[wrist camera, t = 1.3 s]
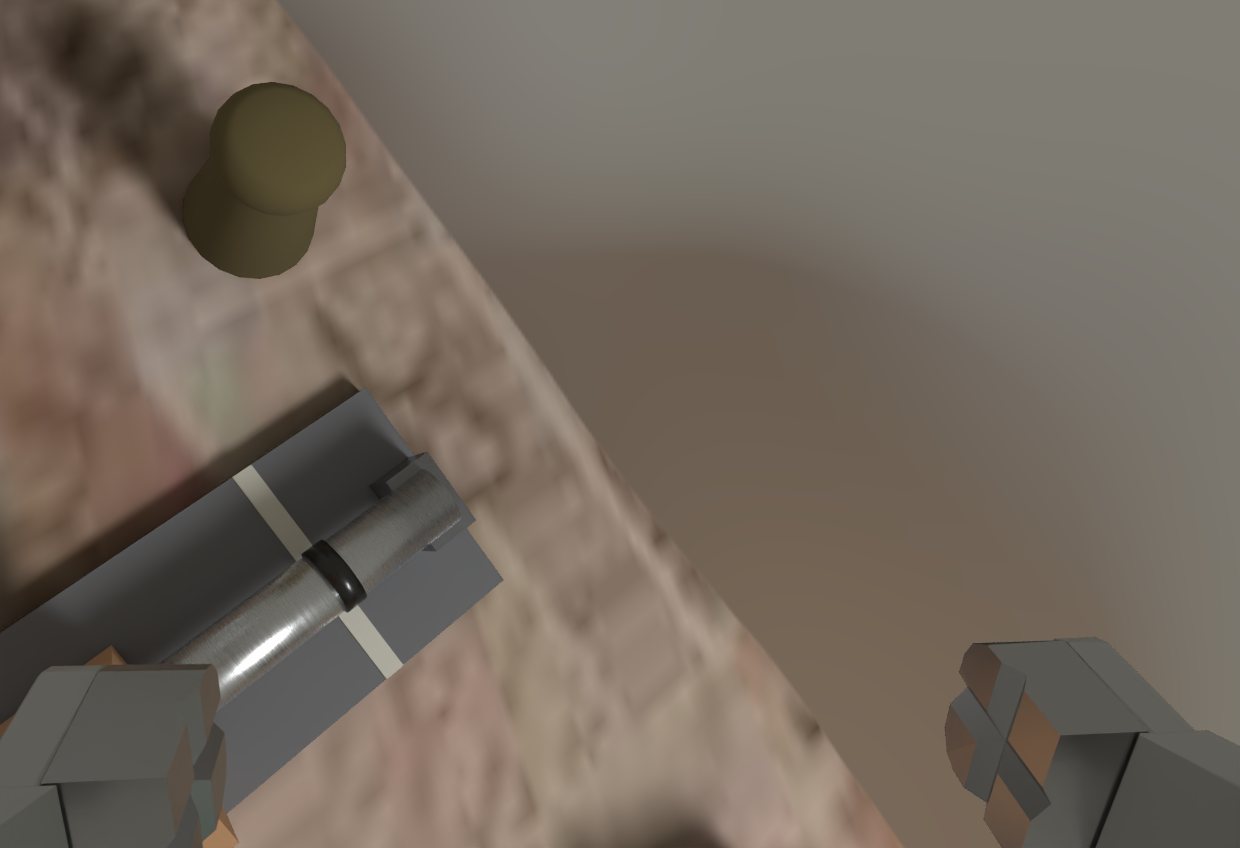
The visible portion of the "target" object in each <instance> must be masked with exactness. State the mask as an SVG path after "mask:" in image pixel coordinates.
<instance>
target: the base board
mask: <svg viewBox="0 0 1240 848" xmlns="http://www.w3.org/2000/svg"><path fill="white" fill-rule="evenodd" d="M411 456H414V455H413V453H412V452H411V450H410V449H409V448H408V446H407V445H406V443H405V442H404V441H403V439H402V438H401V436H400V435H399V434H398V432H397V431H396V429H395V428H394V427H393V425H392V424H391V422H390V421H389V420H388V418H387V417H386V415H385V414H384V413H383V411H382V410H381V409H380V407H379V406H378V404H377V403H376V402H375V400H374V399H373V397H372V396H371V395H370V393H369V392H368V390H367V389H366V388H364V389H362V390H361V391H359V392H358V393H356V394H355V395H353V396H352V397H350V398H349V399H347V400H346V401H344V402H343V403H341V404H340V405H338V406H337V407H335V408H334V409H332V410H331V411H329V412H328V413H326V414H325V415H324V416H322V417H321V418H319V419H318V420H316V421H315V422H313V423H312V424H310V425H309V426H307V427H306V428H304V429H303V430H301V431H300V432H298V433H297V434H295V435H294V436H292V437H291V438H289V439H288V440H286V441H285V442H283V443H282V444H280V445H279V446H277V447H276V448H274V449H273V450H271V451H270V452H268V453H267V454H265V455H264V456H263V457H261V458H260V459H258V460H257V461H255V462H254V463H252V464H251V465H249V466H248V467H246V468H245V469H243V470H242V471H240V472H239V473H237V474H236V475H234V476H233V477H231V478H230V479H228V480H227V481H225V482H224V483H222V484H221V485H219V486H218V487H216V488H215V489H213V490H212V491H210V492H209V493H207V494H206V495H204V496H203V497H201V498H200V499H199V500H197V501H196V502H194V503H193V504H191V505H190V506H188V507H187V508H185V509H184V510H182V511H181V512H179V513H178V514H176V515H175V516H173V517H172V518H170V519H169V520H167V521H166V522H164V523H163V524H161V525H160V526H158V527H157V528H155V529H154V530H152V531H151V532H149V533H148V534H146V535H145V536H143V537H142V538H140V539H139V540H138V541H136V542H135V543H133V544H132V545H130V546H129V547H127V548H126V549H124V550H123V551H121V552H120V553H118V554H117V555H115V556H114V557H112V558H111V559H109V560H108V561H106V562H105V563H103V564H102V565H100V566H99V567H97V568H96V569H94V570H93V571H91V572H90V573H88V574H87V575H85V576H84V577H82V578H81V579H79V580H78V581H77V582H75V583H74V584H72V585H71V586H69V587H68V588H66V589H65V590H63V591H62V592H60V593H59V594H57V595H56V596H54V597H53V598H51V599H50V600H48V601H47V602H45V603H44V604H42V605H41V606H39V607H38V608H36V609H35V610H33V611H32V612H30V613H29V614H27V615H26V616H24V617H23V618H21V619H20V620H18V621H17V622H15V623H14V624H13V625H11V626H10V627H8V628H7V629H5V630H4V631H2V632H1V633H0V725H1V724H2V723H3V722H5V721H6V720H8V719H9V718H10V717H12V716H13V715H15V713H16V712H17V710H18V708H19V707H20V705H21V703H22V702H23V700H24V699H25V697H26V695H27V694H28V692H29V690H30V689H31V687H32V685H33V684H34V682H35V680H36V679H37V677H38V676H39V675H40V674H41V673H42V672H43V671H45V670H46V669H48V668H50V667H51V666H83V665H85V664H86V663H87V662H89V661H90V660H91V659H93V658H94V657H96V656H97V655H98V654H100V653H101V652H103V651H104V650H105V649H107V648H108V647H110V646H111V645H112V646H113V647H114V649H115V650H116V651H117V652H118V654H119V655H120V656H121V657H122V658H123V660H124V661H125V662H126V663H127V664H128V665H142V664H159V663H160V662H162V661H163V660H164V659H166V658H167V657H168V656H170V655H171V654H173V653H174V652H175V651H177V650H178V649H179V648H181V647H182V646H183V645H185V644H186V643H187V642H189V641H190V640H191V639H193V638H194V637H195V636H197V635H198V634H200V633H201V632H202V631H204V630H205V629H206V628H208V627H209V626H210V625H212V624H213V623H214V622H216V621H217V620H218V619H220V618H221V617H222V616H224V615H225V614H227V613H228V612H229V611H231V610H232V609H233V608H235V607H236V606H237V605H239V604H240V603H241V602H243V601H244V600H245V599H247V598H248V597H249V596H251V595H252V594H254V593H255V592H256V591H258V590H259V589H260V588H262V587H263V586H264V585H266V584H267V583H268V582H270V581H271V580H272V579H274V578H275V577H276V576H278V575H279V574H281V573H282V572H283V571H285V570H286V569H287V568H289V567H290V566H291V565H293V564H294V563H295V562H297V561H298V560H299V559H301V558H302V556H301V554H302V553H303V552H304V551H306V550H307V549H309V548H310V547H311V546H313V545H314V544H315V543H317V542H318V541H319V540H321V539H322V540H324V541H325V540H326V539H328V538H329V537H330V536H332V535H333V534H335V533H336V532H337V531H339V530H340V529H341V528H343V527H344V526H345V525H347V524H348V523H349V522H351V521H352V520H353V519H355V518H356V517H357V516H359V515H360V514H362V513H363V512H364V511H366V510H367V509H368V508H370V507H371V506H372V505H374V504H375V503H376V502H378V501H379V499H378V497H377V496H376V495H375V493H374V492H373V491H372V489H371V488H370V486H369V485H371V484H372V483H373V482H375V481H376V480H378V479H379V478H380V477H382V476H383V475H384V474H386V473H387V472H389V471H390V470H391V469H393V468H394V467H395V466H397V465H398V464H400V463H401V462H402V461H404V460H405V459H406V458H408V457H411ZM502 581H503V579H502V577H501V576H500V574H499V573H498V572H497V570H496V569H495V567H494V566H493V565H492V563H491V562H490V560H489V559H488V558H487V556H486V555H485V553H484V552H483V551H482V549H481V548H480V546H479V545H478V544H477V542H476V541H475V540H474V538H473V537H472V535H471V534H470V533H469V531H468V530H467V528H466V529H464V530H463V531H462V532H461V533H459V534H458V535H457V536H455V537H454V538H453V539H452V540H450V541H449V542H448V543H447V544H445V545H444V546H443V547H442V548H440V549H439V550H438V551H420V552H419V553H418V554H417V555H415V556H414V557H413V558H411V559H410V560H409V561H408V562H406V563H405V564H404V565H403V566H401V567H400V568H399V569H397V570H396V571H395V572H394V573H392V574H391V575H390V576H389V577H387V578H386V579H385V580H383V581H382V582H381V583H380V584H378V585H377V586H376V587H375V588H373V589H372V590H371V591H370V592H368V593H367V598H366V599H365V600H364V601H362V602H361V603H360V604H358V605H357V606H356V607H355V608H353V609H352V610H351V611H350V612H348V613H347V612H345V611H344V612H343V613H342V614H340V615H339V616H338V617H337V618H335V619H334V620H333V621H331V622H330V623H329V624H328V625H326V626H325V627H324V628H323V629H321V630H320V631H319V632H317V633H316V634H315V635H314V636H312V637H311V638H310V639H309V640H307V641H306V642H305V643H303V644H302V645H301V646H300V647H298V648H297V649H296V650H295V651H293V652H292V653H291V654H290V655H288V656H287V657H286V658H284V659H283V660H282V661H281V662H279V663H278V664H277V665H276V666H274V667H273V668H272V669H270V670H269V671H268V672H267V673H265V674H264V675H263V676H262V677H260V678H259V679H258V680H256V681H255V682H254V683H253V684H251V685H250V686H249V687H248V688H246V689H245V690H244V691H243V692H241V693H240V694H239V695H237V696H236V697H235V698H234V699H232V700H231V701H230V702H229V703H227V704H226V705H225V706H223V707H222V708H221V709H220V710H218V711H217V712H216V715H215V718H214V721H213V722H214V723H215V724H216V725H217V726H218V727H219V728H220V729H221V730H222V731H224V732H225V742H226V782H225V789H224V797H223V804H222V805H223V807H224V809H225V812H226V814H227V813H228V812H229V811H230V810H232V809H233V808H234V807H235V806H236V805H237V804H239V803H240V802H241V801H242V800H243V799H245V798H246V797H247V796H248V795H249V794H251V793H252V792H253V791H254V790H255V789H256V788H258V787H259V786H260V785H261V784H262V783H264V782H265V781H266V780H267V779H268V778H269V777H271V776H272V775H273V774H274V773H275V772H277V771H278V770H279V769H280V768H281V767H283V766H284V765H285V764H286V763H287V762H288V761H290V760H291V759H292V758H293V757H294V756H296V755H297V754H298V753H299V752H300V751H301V750H303V749H304V748H305V747H306V746H307V745H309V744H310V743H311V742H312V741H313V740H315V739H316V738H317V737H318V736H319V735H320V734H322V733H323V732H324V731H325V730H326V729H328V728H329V727H330V726H331V725H332V724H333V723H335V722H336V721H337V720H338V719H339V718H341V717H342V716H343V715H344V714H345V713H346V712H348V711H349V710H350V709H351V708H352V707H354V706H355V705H356V704H357V703H358V702H360V701H361V700H362V699H363V698H364V697H365V696H367V695H368V694H369V693H370V692H371V691H373V690H374V689H375V688H376V687H377V686H378V685H380V684H381V683H382V682H383V681H384V680H386V679H388V678H389V677H390V676H391V675H393V674H394V673H395V672H396V671H397V670H398V669H400V668H401V667H402V666H403V664H405V663H406V662H407V661H408V660H409V659H410V658H412V657H413V656H414V655H415V654H416V653H418V652H419V651H420V650H421V649H422V648H424V647H425V646H426V645H427V644H428V643H429V642H431V641H432V640H433V639H434V638H435V637H437V636H438V635H439V634H440V633H441V632H442V631H444V630H445V629H446V628H447V627H448V626H450V625H451V624H452V623H453V622H454V621H455V620H457V619H458V618H459V617H460V616H461V615H463V614H464V613H465V612H466V611H467V610H469V609H470V608H471V607H472V606H473V605H474V604H476V603H477V602H478V601H479V600H480V599H482V598H483V597H484V596H485V595H486V594H487V593H489V592H490V591H491V590H492V589H493V588H495V587H496V586H497V585H498V584H499V583H501V582H502Z"/></svg>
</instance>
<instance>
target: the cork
mask: <svg viewBox="0 0 1240 848" xmlns="http://www.w3.org/2000/svg"><path fill="white" fill-rule="evenodd" d="M210 155H211V157H210V158H209V160H208V161H207V162H206V163H205V165H204V166H203V167H202V169H201V170H200V171H199V172H198V174H197V175H196V176H195V178H194V179H193V180H192V181H191V183H190V185H189V187H188V190H187V192H186V195H185V197H184V200H183V222H184V225H185V228H186V231H187V234H188V237H189V240H190V241H191V242H192V244H193V245H194V246H195V248H196V249H197V250H198V252H199V253H200V254H201V256H202V257H203V258H205V259H206V260H207V261H209V262H210V263H211V264H213V265H214V266H215V267H217V268H218V269H220V270H222V271H225V272H228V273H230V274H233V275H235V276H238V277H245V278H257V279H261V278H266V277H271V276H275V275H280V274H281V273H283V272H285V271H286V270H288V269H290V268H292V267H293V266H295V265H296V264H297V263H298V262H299V261H300V259H301V258H302V257H303V256H304V255H305V253H306V252H307V251H308V248H309V245H310V242H311V240H312V237H313V234H314V228H315V222H316V217H317V211H318V206H320V205H321V204H323V203H325V202H326V201H327V199H328V198H329V197H330V196H331V195H332V193H333V192H334V191H335V190H336V189H337V187H338V186H339V185H340V182H341V179H342V176H343V174H344V171H345V168H346V144H345V140H344V137H343V134H342V131H341V128H340V125H339V123H338V122H337V120H336V119H335V118H334V116H333V115H332V113H331V112H330V110H329V109H328V108H327V107H326V106H325V105H324V104H323V103H321V102H320V101H319V100H318V99H317V98H315V97H314V96H313V95H312V94H310V93H308V92H306V91H303V90H301V89H299V88H297V87H295V86H293V85H287V84H281V83H276V82H268V83H260V84H253V85H251V86H249V87H246V88H244V89H242V90H240V91H238V92H236V93H235V94H233V95H232V96H231V97H230V98H229V99H228V100H227V101H226V102H225V103H224V104H223V105H222V106H221V107H220V108H219V109H218V112H217V114H216V117H215V119H214V122H213V124H212V127H211V131H210Z"/></svg>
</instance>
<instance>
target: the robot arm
mask: <svg viewBox="0 0 1240 848" xmlns="http://www.w3.org/2000/svg"><path fill="white" fill-rule="evenodd" d="M959 673H960V675H961V677H962V678H963V680H964V682H965V684H966V686H967V688H966V689H965V690H964V691H963V692H962V693H961V694H959V696H958V697H956V698H955V699H954V700H953V701H952V702H951V703H950V706H949V711H948V715H947V719H946V724H945V736H946V748H947V754H948V757H949V759H950V762H951V765H952V768H953V771H954V772H955V774H956V776H957V777H958V779H959V781H960V782H961V784H962V786H963V787H964V788H965V789H967V790H968V791H970V792H971V793H973V794H974V795H976V796H977V797H979V798H980V799H982V800H983V801H985V802H986V808H985V813H984V821H985V822H986V824H987V825H988V827H989V829H990V830H991V832H992V833H993V835H994V836H995V838H996V840H997V841H998V843H999V844H1000V846H1001V847H1002V848H1240V746H1238V745H1236V744H1235V743H1232V742H1230V741H1228V740H1226V739H1224V738H1222V737H1220V736H1218V735H1216V734H1214V733H1212V732H1210V731H1207V730H1205V731H1195V730H1194V729H1193V728H1192V727H1191V726H1190V725H1189V724H1188V723H1187V722H1186V721H1185V720H1184V719H1183V718H1182V717H1181V716H1180V715H1179V714H1178V713H1177V712H1176V711H1175V710H1174V709H1173V708H1172V707H1171V706H1170V705H1169V704H1168V703H1167V702H1166V701H1165V700H1164V699H1163V697H1162V696H1160V694H1159V693H1158V692H1156V690H1155V689H1154V688H1153V687H1152V686H1151V685H1149V683H1148V682H1147V681H1146V680H1145V679H1144V678H1143V677H1142V676H1141V675H1140V674H1139V673H1138V672H1137V671H1136V670H1135V669H1134V668H1133V667H1132V666H1131V665H1130V664H1129V663H1128V662H1127V661H1126V660H1125V659H1124V658H1123V657H1122V656H1121V655H1120V654H1119V653H1118V652H1117V651H1116V650H1115V649H1114V648H1113V647H1112V646H1111V645H1110V644H1109V643H1108V642H1105V641H1103V640H1101V639H1099V638H1097V637H1080V638H1062V639H1054V640H1052V641H1021V642H1020V641H1019V642H990V643H973V644H972V645H971V646H970V648H969V649H968V650H967V652H966V653H965V654H964V657H963V661H962V664H961V667H960V671H959ZM220 699H221V694H220V687H219V680H218V673H217V670H216V668H215V667H214V666H213V665H212V664H142V665H106V666H101V665H86V666H51V667H50V668H48V669H46V670H45V671H43V672H42V673H41V674H40V675H39V676H38V677H37V679H36V680H35V682H34V684H33V685H32V687H31V689H30V690H29V692H28V694H27V695H26V697H25V699H24V700H23V702H22V703H21V705H20V707H19V708H18V710H17V712H16V713H15V715H14V717H13V718H12V720H11V722H10V723H9V725H8V727H7V728H6V730H5V732H4V733H3V735H2V737H1V738H0V848H203V844H202V842H203V841H204V840H205V839H206V838H207V837H208V836H210V835H211V834H212V833H213V832H214V831H215V830H216V828H217V824H218V820H219V816H220V813H221V809H222V804H223V797H224V789H225V782H226V742H225V732H224V731H222V730H221V729H220V728H219V727H218V726H217V725H216V724H215V723H214V722H213V721H214V718H215V715H216V711H217V708H218V705H219V702H220Z"/></svg>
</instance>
